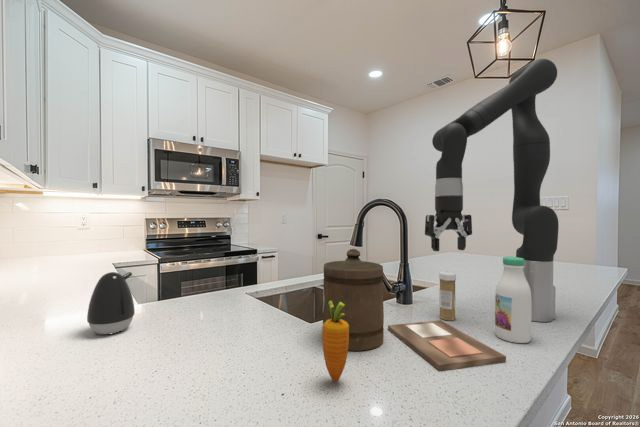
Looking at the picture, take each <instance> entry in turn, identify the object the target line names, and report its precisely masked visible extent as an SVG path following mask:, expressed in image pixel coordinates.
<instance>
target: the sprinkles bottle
mask: <svg viewBox="0 0 640 427" xmlns="http://www.w3.org/2000/svg"><path fill="white" fill-rule="evenodd" d="M438 276H439V277H438V278H439V314H438V318H440V319H441V320H442V321H443V320H444V321H449V322H450V321H454V320H456V318H457V317H456V307H457V306H456V305H457V304H456V302H457V300H456V280H457V274H456V272H453V271H452V272H451V271H440V272H439V274H438Z"/></svg>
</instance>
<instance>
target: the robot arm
mask: <svg viewBox="0 0 640 427" xmlns="http://www.w3.org/2000/svg"><path fill="white" fill-rule="evenodd" d="M557 68H558V67H557V66H556V64H555V63H554V62H553V61H552V60H551V59H547V58H539V59H538V58H537V59H536V60H535V59H534V60H533V61H530V62H529V63H527V64H526V65H524V66H522V68H519V69H518V70H516V71H515V72H514V73H513V74H511V77H510V79H509V80H508V81H509V82H508V84H506V85H505V86H503V87H502V88H500V89H499V90H497V91H496V92H494V93H492V94H490V95H489V96H487V97H486V98H484V99H482V100H481V101H479V102H478V103H476V104H475V105H473V106H472V107H471V108H469V109H468V110H466V111H465V112H464V113H462V114H461V115H459V117H457V118H456V119H454V120H452V121H451V122H449V123H448V124H446V125H444V126H443V127H441V128H439V129H438V130H437V131H436V132H435V133H434V135H433V137H432V141H431V143H432V146H433V148H434V149H435V150H436V151H438V152H441V156H440V158H439V159H438V161H436V164H435V166H436V167H435V185H434V211H435V215H434V214H426V215H425V221H424V222H425V223H424V224H425V225H424V235H425V236H427V237H430V241H431V242H430V243H431V245H430V246H431V250H432V251H433V252H440V238H439V237H441V234H442V233H443V232H444V231H449V230H452V231H454V232H455V234H456V235H457V250H458V251H465V249H466V247H467V246H466V245H467V244H466V243H467V237H468V236H471V235H473V225H472V224H473V223H472V222H473V221H472V219H473V218H472V215H471V214H462V211H463V210H464V185H463V161H464V158H465V153H466V149H467V143H468V138H469V137H471V136H473V135H476V134H478V133H479V132H481V131H483V130H484V129H485V128H486V127H488V126H489V125H491V124H492V123H493V122H495V121H496V120H498V119H499V118H500V117H502V116H503V115H505V113H507V112H508V111H510V110H511V117H512V138H513V139H512V140H513V142H512V158H513V159H512V160H513V184H514V185H513V188H514V189H513V190H514V191H513V204H512V213H511V224H512V226H513V228H514V230H515V231H516V232H517V233H519V235H522V236H523V238H522V243H521V245H520V247H518V248H517V249H516V250H515V251H516V252H515V257H519V258H523V259H524V262H525V263H524V268H523V272H524V275H525V278H526V280H527V282H528V284H529V287H530V290H531V301H532V315H531V322H532V321H533V322H540V323H548V322H552V321H553V320H555V319H556V293H557V292H556V290H557V288H556V286H555V285H554V257H555V254H556V252H557V250H558V243H559V242H558V240H559V225H560V224H559V218H558V215H557V213H556V211H555V210H553V208H551V207H549V206H547V205H541V188H542V183H543V180H544V178H545V176H546V173H547V171H548V169H549V165H550V160H551V145H550V144H551V140H550V135H549V133H548V131H547V130H546V128H545V126H544V125H543V124H542V122H541V120H540V119H539V117H538V115H537V111H536V110H537V109H536V100H537V99H536V98H537V95H539V94H542V93H543V92H545V91H547V90H548V89H550V88H551V87H552V86H553V84H554V83H555V82H556V80H557V78H558V69H557ZM435 222H436V223H435ZM461 222H462V223H461Z"/></svg>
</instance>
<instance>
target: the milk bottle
mask: <svg viewBox="0 0 640 427" xmlns="http://www.w3.org/2000/svg"><path fill="white" fill-rule="evenodd" d="M524 263H525V262H524V259H523V258H519V257H516V256H504V257H503V258H502V266H503V271H502V274H501V276H500V278H499V279H498V281H497V284H496V288H495V295H494V296H495V301H494V302H495V305H494V333H495V335H496V337H498V339H501V340H504V341H507V342H511V343H515V344H528V343H530V342H531V341H532V320H531V315H532V301H531V290H530V287H529V284H528V282H527V280H526V278H525V275H524V272H523V268H524Z"/></svg>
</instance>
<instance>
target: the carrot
mask: <svg viewBox="0 0 640 427" xmlns="http://www.w3.org/2000/svg"><path fill="white" fill-rule="evenodd" d="M328 303H329V306H330V313H331V317H332V319H328V320H327V321H326V322H325V323H324V324H323V323H322V328H321V330H322V331H321V332H322V335H321V336H322V352H323V357H324V362H325V366H326V369H327V372H328V374H329V377H330V378H331V380H332V381H333V382H334V383H335V382H336V383H337V382H339V380H340V379H341V376H342V374H343V373H344V369H345V367H346V362H347V358H348V352H349V350H348V345H349V324H348V323H347V322H346V321H344V320H342V319H341V318H342V317H343V316H344V315H345V314H344V313H341V314H340V311H341V309H342V308H343V307H344V305H345V304H343V303H342V302H339V304H338V306H337V308H336V310H335V313H334V305H333V303H332V301H329V302H328ZM339 314H340V315H339Z"/></svg>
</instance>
